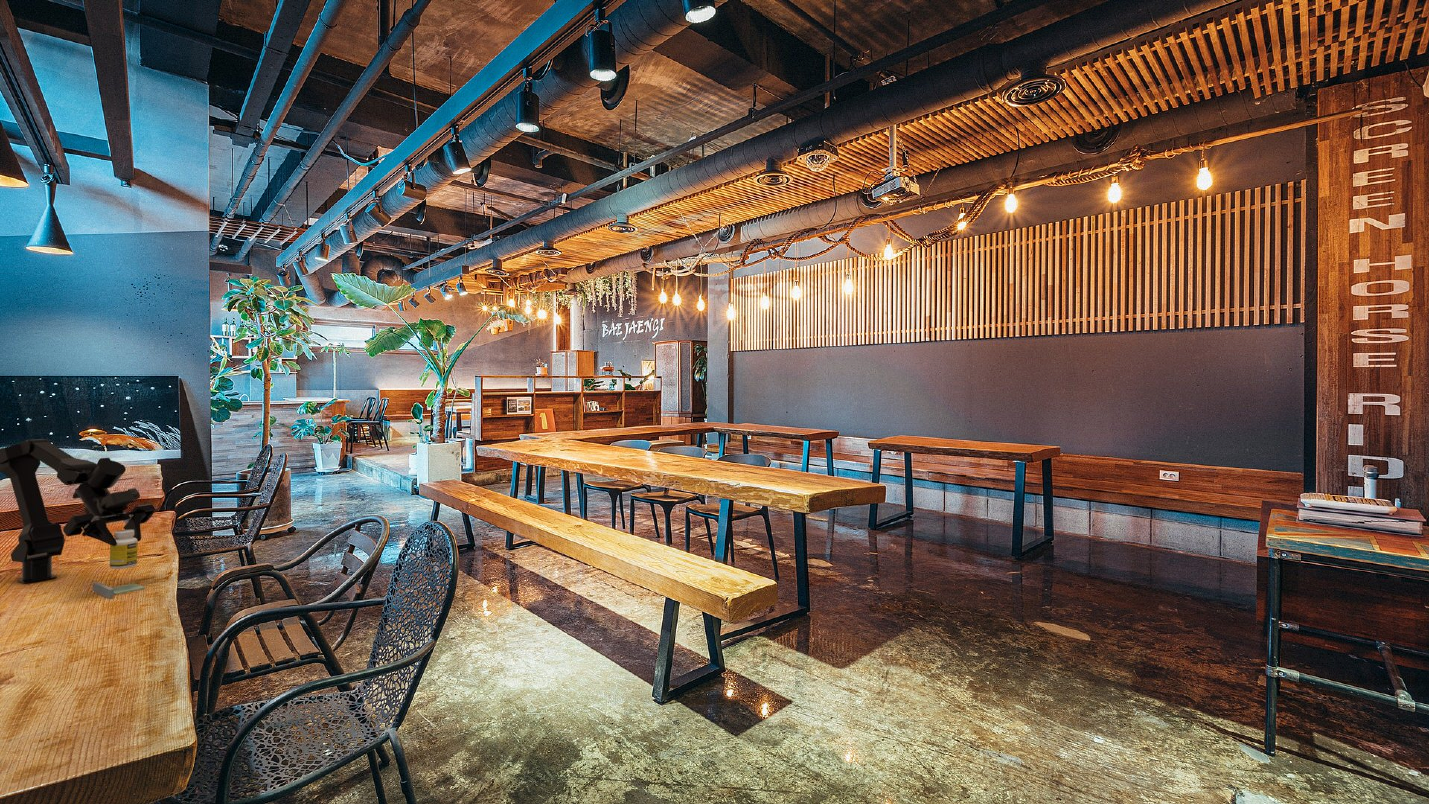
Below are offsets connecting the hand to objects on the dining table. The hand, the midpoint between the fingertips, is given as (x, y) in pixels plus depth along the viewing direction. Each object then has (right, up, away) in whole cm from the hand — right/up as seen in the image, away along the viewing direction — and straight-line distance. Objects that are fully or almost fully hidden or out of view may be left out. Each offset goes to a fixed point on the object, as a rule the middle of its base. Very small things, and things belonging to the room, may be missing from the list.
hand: (127, 542), depth 168 cm
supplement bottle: (-1, -7, 0) cm, 7 cm away
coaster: (-1, -13, +1) cm, 13 cm away
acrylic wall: (-3, -13, -4) cm, 14 cm away
